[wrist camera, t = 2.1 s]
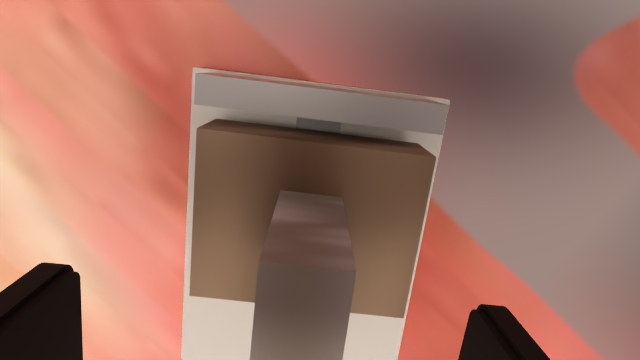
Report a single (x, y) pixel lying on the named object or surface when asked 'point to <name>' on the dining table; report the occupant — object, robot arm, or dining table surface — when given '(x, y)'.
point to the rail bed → (311, 114)
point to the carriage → (305, 230)
